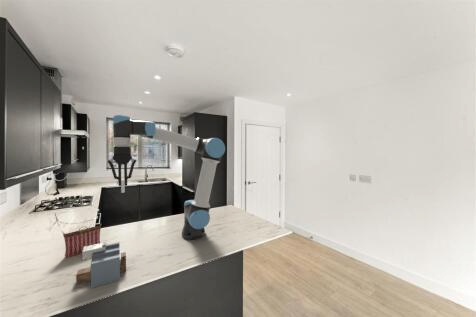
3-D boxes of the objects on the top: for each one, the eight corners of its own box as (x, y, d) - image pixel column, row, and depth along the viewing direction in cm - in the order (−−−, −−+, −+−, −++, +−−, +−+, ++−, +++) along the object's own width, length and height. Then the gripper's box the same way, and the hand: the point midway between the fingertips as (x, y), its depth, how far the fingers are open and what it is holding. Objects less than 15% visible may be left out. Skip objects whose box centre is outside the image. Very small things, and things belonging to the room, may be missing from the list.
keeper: (106, 249, 89) (106, 240, 89) (105, 254, 85) (105, 244, 85) (84, 254, 85) (84, 244, 85) (82, 259, 81) (82, 249, 81)
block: (119, 261, 97) (119, 239, 97) (120, 279, 84) (119, 253, 83) (95, 267, 92) (94, 244, 91) (91, 288, 78) (90, 260, 78)
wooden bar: (125, 266, 93) (125, 251, 93) (126, 270, 90) (125, 255, 90) (78, 278, 84) (77, 263, 84) (76, 284, 81) (75, 267, 80)
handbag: (52, 260, 98) (50, 211, 97) (101, 244, 114) (100, 202, 113) (54, 265, 94) (53, 214, 92) (105, 248, 110) (104, 205, 109)
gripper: (136, 146, 105) (136, 189, 106) (107, 146, 98) (108, 192, 99) (137, 146, 99) (137, 192, 100) (106, 145, 92) (107, 195, 93)
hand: (123, 192), depth 99 cm, fingers closed
